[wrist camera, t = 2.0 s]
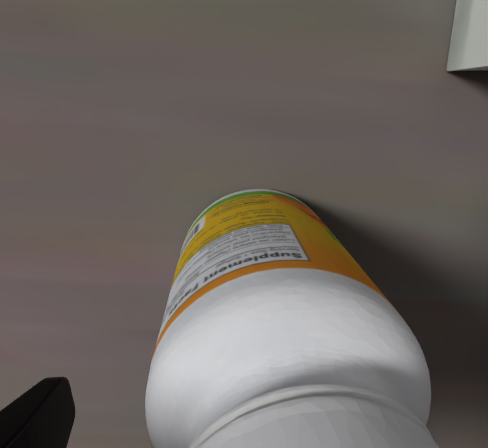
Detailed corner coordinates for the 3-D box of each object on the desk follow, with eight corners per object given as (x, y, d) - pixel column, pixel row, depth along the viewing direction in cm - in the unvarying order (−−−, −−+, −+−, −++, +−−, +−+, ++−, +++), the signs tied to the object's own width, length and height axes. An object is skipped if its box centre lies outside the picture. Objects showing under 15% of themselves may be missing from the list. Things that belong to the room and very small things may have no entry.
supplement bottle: (340, 295, 14) (570, 671, 5) (210, 335, 14) (190, 765, 5) (308, 165, 12) (575, 364, 3) (159, 212, 12) (-16, 533, 3)
